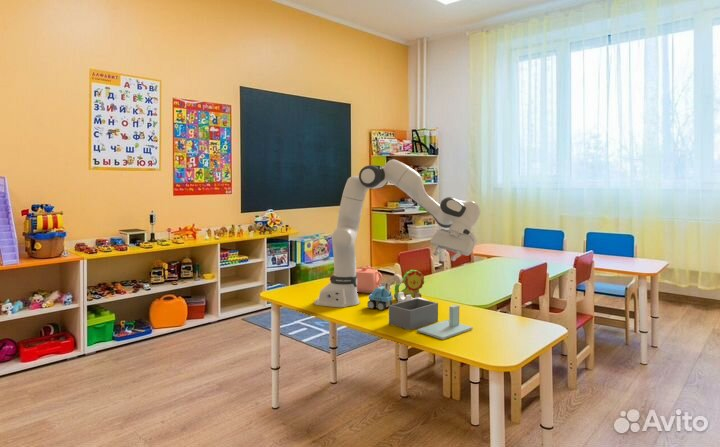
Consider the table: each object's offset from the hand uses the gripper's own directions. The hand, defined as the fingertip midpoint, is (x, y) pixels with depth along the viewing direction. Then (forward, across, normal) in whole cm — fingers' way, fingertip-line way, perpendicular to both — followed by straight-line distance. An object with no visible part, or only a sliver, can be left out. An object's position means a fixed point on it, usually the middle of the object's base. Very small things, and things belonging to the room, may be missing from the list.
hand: (443, 257), depth 199 cm
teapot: (+18, -58, +34) cm, 70 cm away
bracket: (+20, -16, +23) cm, 34 cm away
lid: (+28, +15, +5) cm, 33 cm away
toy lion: (+14, -28, +32) cm, 44 cm away
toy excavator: (+28, -24, +15) cm, 40 cm away
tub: (+30, -1, +7) cm, 31 cm away
